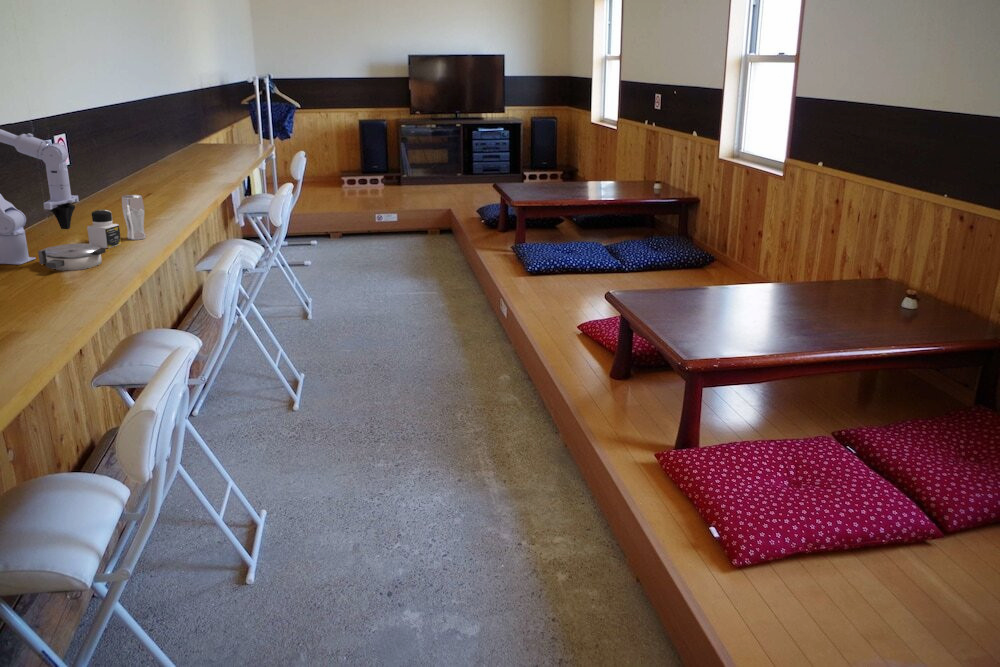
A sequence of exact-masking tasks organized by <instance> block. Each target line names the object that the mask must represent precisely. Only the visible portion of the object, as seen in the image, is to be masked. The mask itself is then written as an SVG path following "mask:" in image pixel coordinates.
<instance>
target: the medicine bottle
mask: <svg viewBox="0 0 1000 667" xmlns="http://www.w3.org/2000/svg"><path fill="white" fill-rule="evenodd" d="M91 218H92V219H91V220H92V224H91V225H88V226H87V227H86V229H87V235H88V236H87V237H88V244H95V245H98V246H100V249H106V248H108V249H112V248H114V246H115V247H117V246H120V245H122V239H121V230H120V225H119V224H118V223H113V215H112V211H110V210H107V209H99V210H94V211H92V212H91Z"/></svg>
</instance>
